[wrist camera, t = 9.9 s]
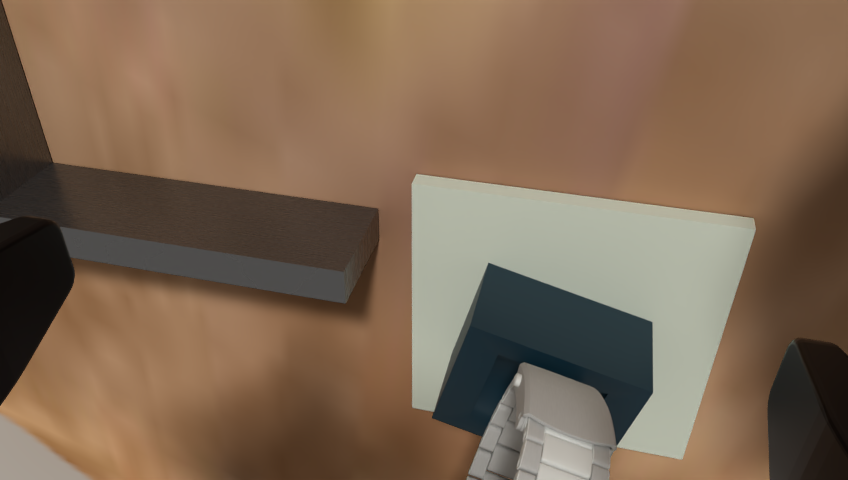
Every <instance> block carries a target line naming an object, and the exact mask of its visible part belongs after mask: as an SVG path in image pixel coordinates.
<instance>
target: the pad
mask: <svg viewBox="0 0 848 480" xmlns="http://www.w3.org/2000/svg"><path fill="white" fill-rule="evenodd" d="M755 231H756V227H755V223H754V218H748V217H741V216H733V215H725V214H718V213H710V212H702V211H695V210H687V209H680V208H672V207H664V206H657V205H649V204H641V203H634V202H626V201H618V200H611V199H603V198H595V197H588V196H580V195H573V194H565V193H557V192H550V191H542V190H534V189H527V188H519V187H511V186H504V185H496V184H488V183H481V182H473V181H465V180H458V179H450V178H443V177H435V176H427V175H420V174H416V176H415V178H414V180H413V182H412V408H417V409H422V410H427V411H432V412H434V410H435V407H436V403H437V400H438V397H439V394H440V390H441V387H442V384H443V380H444V377H445V374H446V371H447V367H448V364H449V361H450V358H451V354H452V351H453V349H454V347H455V344H456V342H457V339H458V337H459V334H460V332H461V329H462V327H463V324H464V322H465V319H466V317H467V314H468V312H469V309H470V307H471V304H472V302H473V299H474V297H475V295H476V292H477V290H478V287H479V285H480V282H481V280H482V277H483V275H484V272H485V270H486V267H487V265H488V263H491V264H494V265H496V266H499V267H502V268H505V269H507V270H510V271H513V272H516V273H518V274H521V275H524V276H527V277H530V278H532V279H535V280H538V281H541V282H543V283H546V284H549V285H552V286H554V287H557V288H560V289H563V290H565V291H568V292H571V293H574V294H577V295H579V296H582V297H585V298H588V299H590V300H593V301H596V302H599V303H601V304H604V305H607V306H610V307H612V308H615V309H618V310H621V311H624V312H626V313H629V314H632V315H635V316H637V317H640V318H643V319H646V320H648V321H651V322H653V394H652V395H651V397H650V398H649V400H648V401H647V403H646V404H645V405H644V407H643V408H642V410H641V411H640V413H639V414H638V416H637V417H636V419H635V420H634V422H633V423H632V425H631V426H630V427H629V429H628V430H627V432H626V433H625V435H624V436H623V438H622V439H621V441H620V442H619V444H618V445H617V447H619V448H624V449H629V450H635V451H640V452H645V453H650V454H655V455H661V456H666V457H671V458H676V459H681V460H682V459H683V456H684V452H685V449H686V446H687V443H688V440H689V437H690V434H691V431H692V428H693V424H694V421H695V418H696V415H697V412H698V409H699V406H700V403H701V399H702V396H703V393H704V390H705V387H706V384H707V381H708V378H709V375H710V371H711V368H712V365H713V362H714V359H715V356H716V353H717V350H718V347H719V343H720V340H721V337H722V334H723V331H724V328H725V325H726V322H727V318H728V315H729V312H730V309H731V306H732V303H733V300H734V297H735V294H736V290H737V287H738V284H739V281H740V278H741V275H742V272H743V269H744V265H745V262H746V259H747V256H748V253H749V250H750V247H751V244H752V241H753V237H754V234H755Z"/></svg>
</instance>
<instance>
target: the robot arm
mask: <svg viewBox="0 0 848 480" xmlns="http://www.w3.org/2000/svg"><path fill="white" fill-rule="evenodd" d="M74 277H75V272H74V267H73V264H72V261H71V258H70V255H69V252H68V249H67V246H66V243H65V240H64V237H63V234H62V231H61V228H60V227H59V225H58V224H57V223H56V222H55V221H52V220H50V219H45V218H39V217H33V216H21V217H17V218H15V219H12V220H9V221H6V222H3V223H0V406H1V404H2V403H3V401H4V400H5V399H6V397H7V396H8V394H9V393H10V391H11V390H12V388H13V387H14V386H15V384H16V383H17V381H18V379H19V378H20V376H21V375H22V373H23V371H24V370H25V368H26V366H27V365H28V363H29V361H30V359H31V358H32V356H33V354H34V353H35V351H36V349H37V347H38V346H39V344H40V342H41V340H42V339H43V337H44V335H45V334H46V332H47V330H48V328H49V327H50V325H51V323H52V321H53V320H54V318H55V316H56V315H57V313H58V311H59V309H60V308H61V306H62V304H63V302H64V301H65V299H66V297H67V296H68V294H69V292H70V290H71V288H72V286H73V283H74ZM768 440H769V472H770V480H848V355H847V354H846V353H845V352H844V351H843V350H842V349H841V348H839V347H838V346H837V345H835V344H833V343H830V342H824V341H817V340H811V339H805V338H797V339H795V340H793V341H792V342H791V343H790V344H789V346H788V348H787V350H786V353H785V355H784V358H783V360H782V363H781V365H780V368H779V370H778V373H777V375H776V378H775V381H774V383H773V386H772V388H771V391H770V395H769V400H768Z"/></svg>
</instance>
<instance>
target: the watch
mask: <svg viewBox="0 0 848 480" xmlns="http://www.w3.org/2000/svg"><path fill="white" fill-rule="evenodd" d="M652 394H653V322H651V321H648V320H646V319H643V318H640V317H637V316H635V315H632V314H629V313H626V312H624V311H621V310H618V309H615V308H612V307H610V306H607V305H604V304H601V303H599V302H596V301H593V300H590V299H588V298H585V297H582V296H579V295H577V294H574V293H571V292H568V291H565V290H563V289H560V288H557V287H554V286H552V285H549V284H546V283H543V282H541V281H538V280H535V279H532V278H530V277H527V276H524V275H521V274H518V273H516V272H513V271H510V270H507V269H505V268H502V267H499V266H496V265H494V264H491V263H488V265H487V267H486V270H485V272H484V275H483V277H482V280H481V282H480V285H479V287H478V290H477V292H476V295H475V297H474V299H473V302H472V304H471V307H470V309H469V312H468V314H467V317H466V319H465V322H464V324H463V327H462V329H461V332H460V334H459V337H458V339H457V342H456V344H455V347H454V349H453V351H452V354H451V358H450V361H449V364H448V367H447V371H446V374H445V377H444V380H443V384H442V387H441V390H440V394H439V397H438V400H437V403H436V407H435V410H434V413H433V416H432V418H433V419H436V420H439V421H441V422H444V423H447V424H449V425H452V426H455V427H458V428H460V429H463V430H466V431H468V432H471V433H474V434H476V435H479V436H482V439H481V441H480V443H479V447H478V449H477V452H476V454H475V457H474V459H473V462H472V464H471V467H470V469H469V472H468V474H469V475H472V476H474V477H477V478H480V479H482V480H510V479H512V480H609V476H610V472H609V468H610V457H611V455H612V454H613V452H614V451H615V450H616V449H617V445H618V444H619V442H620V441H621V439H622V438H623V436H624V435H625V433H626V432H627V430H628V429H629V427H630V426H631V425H632V423H633V422H634V420H635V419H636V417H637V416H638V414H639V413H640V411H641V410H642V408H643V407H644V405H645V404H646V403H647V401H648V400H649V398H650V397H651V395H652ZM491 452H492V453H491ZM486 469H487V470H488V471H486ZM489 471H491V472H494V473H496V474H494V473H491V472H489ZM497 474H499V475H502V476H504V477H502V476H499V475H497ZM474 477H471V476H467V478H466V480H479V479H476V478H474ZM505 477H507V478H510V479H507V478H505Z"/></svg>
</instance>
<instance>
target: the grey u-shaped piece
mask: <svg viewBox="0 0 848 480" xmlns="http://www.w3.org/2000/svg"><path fill="white" fill-rule="evenodd" d="M21 216H33V217H39V218H45V219H50V220H52V221H55V222H56V223H57V224H58V225H59V227H60V228H61V231H62V234H63V237H64V240H65V243H66V246H67V249H68V252H69V255H70V257H71V258H77V259H83V260H89V261H95V262H101V263H107V264H113V265H119V266H125V267H131V268H137V269H143V270H149V271H155V272H160V273H166V274H172V275H178V276H184V277H190V278H196V279H202V280H208V281H214V282H220V283H226V284H232V285H238V286H244V287H250V288H256V289H262V290H268V291H273V292H279V293H285V294H291V295H297V296H303V297H309V298H315V299H321V300H327V301H333V302H339V303H345V304H346V302H347V300H348V298H349V296H350V294H351V292H352V290H353V289H354V287H355V285H356V283H357V281H358V279H359V277H360V275H361V273H362V271H363V269H364V267H365V265H366V263H367V261H368V259H369V257H370V255H371V253H372V252H373V250H374V248H375V246H376V244H377V242H378V240H379V220H378V209H376V208H369V207H362V206H355V205H348V204H341V203H334V202H327V201H320V200H313V199H306V198H298V197H291V196H284V195H277V194H270V193H263V192H256V191H249V190H242V189H235V188H228V187H221V186H214V185H207V184H199V183H192V182H185V181H178V180H171V179H164V178H157V177H150V176H143V175H136V174H129V173H122V172H115V171H108V170H100V169H93V168H86V167H79V166H72V165H65V164H58V163H52V160H51V157H50V154H49V151H48V147H47V144H46V141H45V138H44V135H43V132H42V129H41V126H40V122H39V119H38V116H37V113H36V110H35V107H34V104H33V100H32V97H31V94H30V91H29V88H28V85H27V82H26V78H25V75H24V72H23V69H22V66H21V63H20V60H19V57H18V53H17V50H16V47H15V44H14V41H13V38H12V35H11V31H10V28H9V25H8V22H7V19H6V16H5V13H4V10H3V6H2V3H1V0H0V223H3V222H6V221H9V220H12V219H15V218H17V217H21Z"/></svg>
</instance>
